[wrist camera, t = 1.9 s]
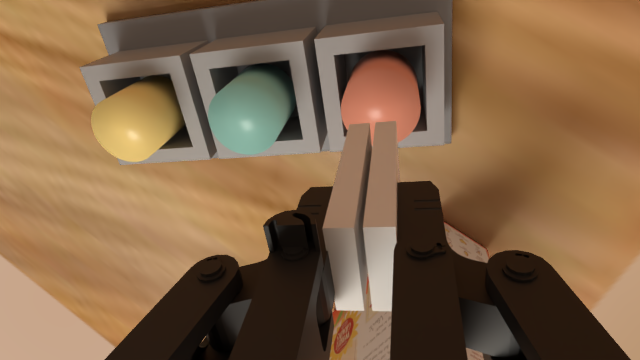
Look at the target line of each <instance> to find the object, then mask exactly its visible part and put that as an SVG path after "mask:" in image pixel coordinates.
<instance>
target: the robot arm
mask: <svg viewBox="0 0 640 360" xmlns="http://www.w3.org/2000/svg"><path fill="white" fill-rule="evenodd" d="M263 227H264V231H265V235H266V239H267V243H268V247H269V251H270V253H269V256H268V259H266V260H264V261H261V262H258V263H254V264H250V265H246V266H241V267H239V265H238V262H237V261H236V260H235V259H234V258H233V257H231V256H228V255H215V256H211V257H207V258H205V259H203V260H201V261H199V262H197V263H196V264H195V265H194V266H192V267H191V268H190V269H189V270H188V271H187V272H186V273H185V275H184V276H183V277H182V278H181V279H180V280H179V281H178V282H177V283H176V284H175V285H174V286H173V287H172V288H171V289H170V291H169V292H168V293H167V294H166V295H165V296H164V297H163V298H162V299H161V300H160V301H159V302H158V303H157V304H156V305H155V306H154V308H153V309H152V310H151V311H150V312H149V313H148V314H147V315H146V316H145V317H144V318H143V319H142V320H141V321H140V322H139V324H138V325H137V326H136V327H135V328H134V329H133V330H132V331H131V332H130V333H129V334H128V335H127V336H126V337H125V338H124V340H123V341H122V342H121V343H120V344H119V345H118V346H117V347H116V348H115V349H114V350H113V351H112V352H111V353H110V355H109V356H108V357H107V358H106V359H105V360H329V358H330V351H331V345H332V338H333V331H334V320H333V314H332V308H333V302H334V299H335V305H336V310H344V311H364V310H365V299H366V288H367V276H368V277H369V285H370V294H371V303H372V311H392V315H391V344H390V360H468V358H467V351H466V348H469V349H472V350H475V351H478V352H481V353H482V354H483V358H484V360H631V359H630V358H629V357H628V356H627V355H626V354H625V352H624V351H623V350H622V349H621V348H620V346H619V345H618V344H617V343H616V342H615V341H614V339H613V338H612V337H611V336H610V335H609V333H608V332H607V331H606V330H605V329H604V327H603V326H602V325H601V324H600V323H599V322H598V320H597V319H596V318H595V317H594V316H593V314H592V313H591V312H590V311H589V310H588V309H587V307H586V306H585V305H584V304H583V303H582V301H581V300H580V299H579V298H578V297H577V296H576V294H575V293H574V292H573V291H572V290H571V288H570V287H569V286H568V285H567V284H566V283H565V281H564V280H563V279H562V278H561V277H560V275H559V274H558V273H557V272H556V271H555V270H554V268H553V267H552V266H551V265H550V264H549V263H548V262H546V261H545V260H544V259H543V258H541V257H539V256H536V255H534V254H532V253H529V252H524V251H519V250H512V251H503V252H500V253H496V254H495V255H493V256H492V257H491V258H490V259H489V260H488V263H485V262H480V261H476V260H472V259H469V258H466V257H464V256H461V255H459V254H458V253H456V252H455V251H454V250H452V248H451V247H450V246H449V244H448V242H447V239H446V232H445V226H444V220H443V214H442V209H441V202H440V196H439V189H438V188H437V187H436V186H435V185H434V184H433V183H432V182H431V181H419V182H400V175H399V158H398V141H397V125H396V121H389V122H375V130H374V139H373V147H372V143H371V132H370V123H362V124H349V128H348V132H347V135H346V139H345V143H344V147H343V151H342V155H341V159H340V162H339V166H338V170H337V174H336V178H335V182H334V186H333V187H311V188H310V189H309V190H308V191H306V192H305V193H304V194H303V195H302V196H301V199H300V202H299V204H298V207H297V210H291V211H284V212H282V213H279V214H276V215H274V216H273V217H271V218H270V219H268V220H267V222H266V223H265V224H264V225H263ZM205 336H206V338H205ZM204 338H205V339H204ZM203 339H204V340H203ZM202 340H203V341H202Z"/></svg>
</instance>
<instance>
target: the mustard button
mask: <svg viewBox="0 0 640 360" xmlns="http://www.w3.org/2000/svg"><path fill="white" fill-rule="evenodd" d="M91 125H92V129H93V132H94V135H95V137H96V138H97V140H98V142H99V143H100V144H101V145H102V147H103V148H104V149H105V150H107V151H108V152H109V153H110V154H112V155H113V156H115V157H117V158H119V159H121V160H124V161H128V162H140V161H143V160H145V159H147V158H149V157H150V156H151V155H152V154H153V153H155V152H156V151H157V150H158V149H159V148H160V147H161V146H162V145H164V144H165V143H166V142H167V141H168V140H169V139H170V138H172V137H173V136H174V135H175V134H176V133H177V132H178V131H179V130H181V129H182V128H183V127H184V126H185V125H186V123H185V120H184V117H183V114H182V111H181V107H180V104H179V101H178V98H177V95H176V92H175V88H174V85H173V82H172V80H170V79H168V78H166V77H163V76H158V75H151V76H147V77H144V78H142V79H141V80H139V81H137V82H135V83H133V84H132V85H130V86H128V87H126V88H124V89H122V90H121V91H119V92H117V93H115V94H113V95H112V96H110V97H108V98H106V99H104V100H102V101H101V102H99V103H98V104H97V105H96V106H95V108H94V109H93V112H92V116H91Z"/></svg>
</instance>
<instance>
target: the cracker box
mask: <svg viewBox="0 0 640 360" xmlns="http://www.w3.org/2000/svg"><path fill="white" fill-rule="evenodd" d="M444 226H445V232H446V239H447V242H448V244H449V246H450V247H451V248H452V250H454V251H455V252H456V253H458V254H459V255H461V256H464V257H466V258H469V259H472V260H476V261H480V262H485V263H488V260H489V259H490V257H489V254H488V250H487V249H486V248H484V247H483V246H481V245H480V244H478V243H477V242H475V241H474V240H472V239H470V238H469V237H467V236H466V235H464V234H463V233H461V232H460V231H458V230H456V229H455V228H453V227H452V226H450V225H449V224H447V223H445V222H444ZM391 315H392V311H372V303H371V294H370V285H369V277H367V288H366V299H365V310H364V311H344V310H336V309H335V311H334V312H333V320H334V331H333V338H332V345H331V351H330V358H329V360H390V344H391ZM466 351H467V358H468V360H484V358H483V354H482V353H481V352H478V351H475V350H472V349H469V348H466Z"/></svg>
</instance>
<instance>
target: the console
mask: <svg viewBox="0 0 640 360" xmlns="http://www.w3.org/2000/svg"><path fill="white" fill-rule="evenodd" d="M98 27H99V30H100V33H101V35H102V38H103V41H104V43H105V46H106V49H107V51H108V54H109V56H106V57H104V58H101V59H99V60H96V61H94V62H91V63H89V64H86V65H84V66H82V67H80V70H81V72H82V75H83V77H84V80H85V82H86V84H87V87H88V89H89V92H90V94H91V96H92V99H93V101H94V104H95V106H96V105H97V104H98V103H99V102H101V101H102V100H104V99H106V98H108V97H110V96H112V95H113V94H115V93H117V92H119V91H121V90H122V89H124V88H126V87H128V86H130V85H132V84H133V83H135V82H137V81H139V80H141V79H142V78H144V77H147V76H151V75H158V76H163V77H166V78H168V79H170V80H172V82H173V85H174V88H175V92H176V95H177V98H178V101H179V104H180V107H181V111H182V114H183V117H184V120H185V123H186V125H185V126H184V127H183V128H182V129H181V130H179V131H178V132H177V133H176V134H175V135H174V136H173V137H172V138H170V139H169V140H168V141H167V142H166V143H165V144H164V145H162V146H161V147H160V148H159V149H158V150H157V151H156V152H155V153H153V154H152V155H151V156H150V157H149V158H147V159H145V160H143V161H140V162H128V161H124V160H121V159H119V158H117V159H118V161H119V164H120V165H127V164H143V163H159V162H176V161H192V160H208V159H211V158H219V159H224V158H241V157H257V156H273V155H289V154H305V153H320V152H321V151H330V152H338V151H343V147H344V143H345V139H346V135H347V132H348V130H347V129H346V127H345V125H344V123H343V120H342V116H341V103H342V99H343V96H344V93H345V90H346V87H347V84H348V81H349V78H350V75H351V73H352V70H353V68H354V66H355V65H356V63H357V62H358V61H359V60H360V59H361V58H362V57H364V56H365V55H367V54H369V53H371V52H374V51H378V50H390V51H394V52H397V53H399V54H401V55H403V56H404V57H405V58H407V59H408V60H409V62H410V63H411V64H412V66H413V67H414V70H415V72H416V76H417V83H418V90H419V98H420V106H421V111H420V117H419V120H418V123H417V125H416V127H415V128H414V130H413V131H412V132H411V134H410V135H409V136H407V137H406V138H405V139H404V140H402V141H400V142H398V148H403V147H419V146H435V145H444V144H449V143H451V113H452V0H256V1H249V2H242V3H235V4H228V5H221V6H214V7H207V8H200V9H193V10H186V11H179V12H172V13H165V14H158V15H151V16H145V17H138V18H131V19H124V20H117V21H110V22H105V23H101V24H98ZM259 63H265V64H271V65H274V66H276V67H278V68H280V69H281V70H283V71H284V72H285V73H286V74H287V75H288V76H289V77H290V79H291V80H292V82H293V85H294V91H295V96H296V105H295V108H294V111H293V112H292V114H291V116H290V117H289V119H288V121H287V122H286V124H285V126H284V127H283V129H282V131H281V132H280V134H279V135H278V137H277V139H276V140H275V142H274V143H273V145H272V146H271V147H270V148H268V149H267V150H265V151H264V152H261V153H258V154H253V155H245V154H240V153H236V152H234V151H232V150H230V149H228V148H227V147H225V146H224V145H223V144H221V143H220V142H219V141H218V139H217V138H216V137H215V135H214V134H213V132H212V130H211V128H210V125H209V120H208V110H209V105H210V103H211V101H212V99H213V97H214V96H215V95H216V94H217V93H218V92H219V91H220V90H222V89H223V88H224V87H225V86H226V85H227V84H229V83H230V82H231V81H232V80H233V79H234V78H236V77H237V76H238V75H239V74H240V73H241V72H242V71H244V70H245V69H246V68H248V67H249V66H251V65H254V64H259ZM372 147H373V146H372Z"/></svg>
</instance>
